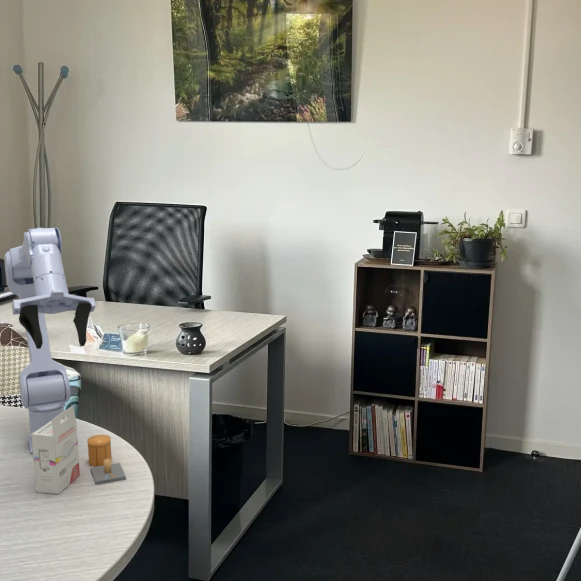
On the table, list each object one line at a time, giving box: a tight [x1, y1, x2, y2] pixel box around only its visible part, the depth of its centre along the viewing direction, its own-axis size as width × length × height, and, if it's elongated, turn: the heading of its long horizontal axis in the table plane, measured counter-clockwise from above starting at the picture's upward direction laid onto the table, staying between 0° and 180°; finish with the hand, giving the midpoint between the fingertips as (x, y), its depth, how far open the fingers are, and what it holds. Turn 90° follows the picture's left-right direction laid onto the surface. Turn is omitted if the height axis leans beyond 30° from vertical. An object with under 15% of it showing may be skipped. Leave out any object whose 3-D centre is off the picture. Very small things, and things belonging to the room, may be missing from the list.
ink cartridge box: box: [30, 405, 80, 495], centre depth 140 cm, size 9×5×15 cm, turn 168°
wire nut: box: [86, 434, 112, 467], centre depth 151 cm, size 5×5×5 cm
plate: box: [90, 458, 127, 485], centre depth 145 cm, size 7×6×3 cm
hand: (61, 344), depth 131 cm, fingers open, 7 cm apart
